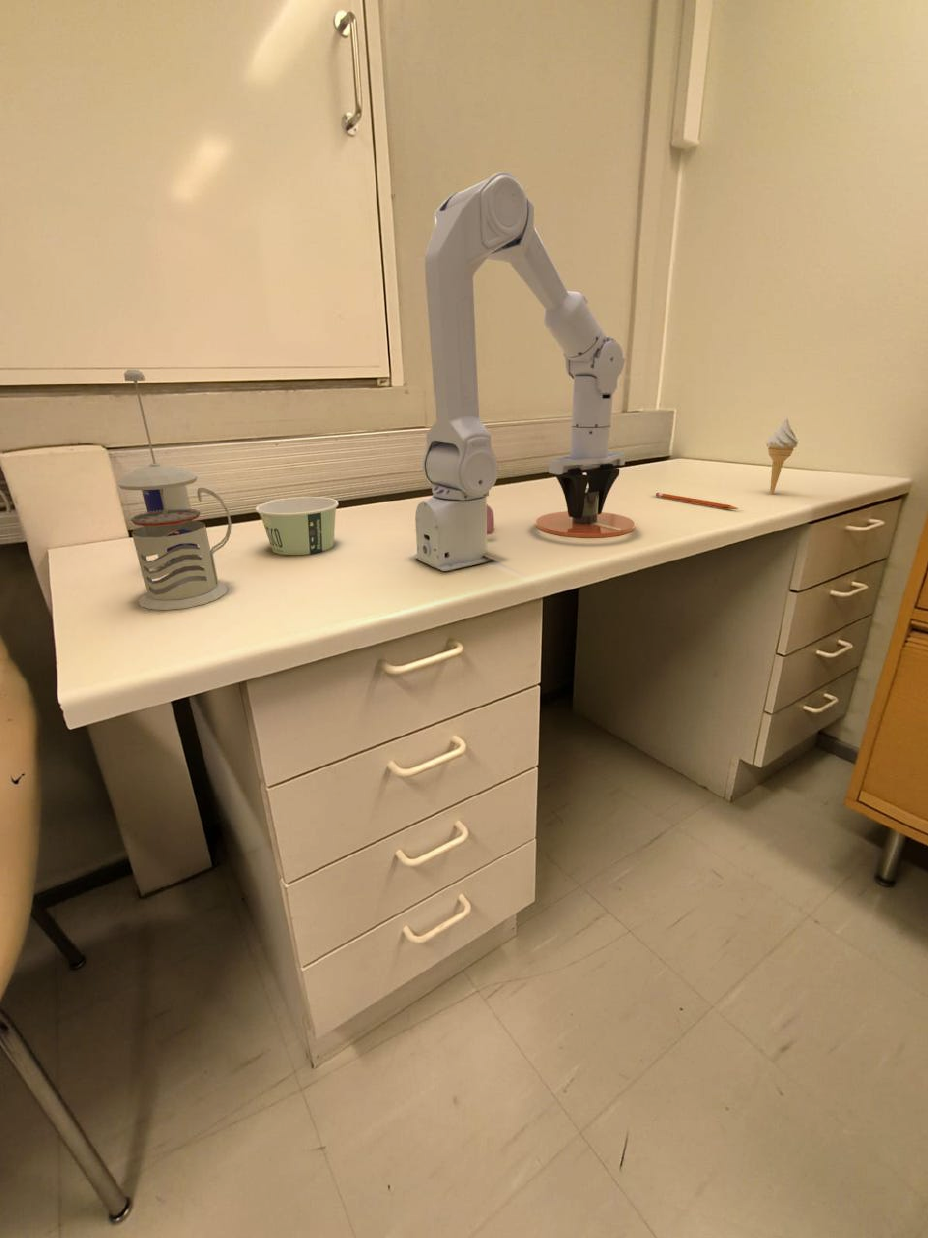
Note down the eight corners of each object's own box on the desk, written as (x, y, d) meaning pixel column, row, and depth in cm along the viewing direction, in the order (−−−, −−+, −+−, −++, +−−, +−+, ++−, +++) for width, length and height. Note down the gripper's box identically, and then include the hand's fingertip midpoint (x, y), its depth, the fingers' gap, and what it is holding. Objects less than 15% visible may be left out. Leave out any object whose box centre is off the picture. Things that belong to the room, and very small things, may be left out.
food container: (358, 544, 87) (354, 502, 85) (293, 563, 79) (286, 517, 76) (311, 532, 95) (306, 493, 92) (246, 549, 86) (239, 506, 83)
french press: (142, 588, 70) (85, 370, 61) (240, 574, 75) (202, 368, 65) (135, 616, 62) (68, 368, 52) (246, 598, 66) (203, 366, 57)
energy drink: (156, 571, 77) (134, 482, 72) (165, 560, 81) (144, 476, 77) (199, 567, 78) (180, 479, 73) (204, 557, 83) (187, 473, 78)
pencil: (657, 495, 116) (658, 492, 116) (740, 510, 103) (740, 506, 103) (655, 496, 116) (655, 492, 116) (737, 510, 102) (738, 506, 102)
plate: (516, 523, 93) (517, 489, 91) (583, 510, 101) (585, 478, 99) (585, 543, 81) (587, 504, 79) (655, 526, 89) (659, 491, 87)
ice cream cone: (750, 492, 118) (764, 416, 112) (772, 490, 120) (786, 415, 114) (771, 497, 113) (786, 418, 107) (793, 495, 115) (810, 417, 109)
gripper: (574, 430, 79) (569, 526, 84) (643, 424, 86) (635, 512, 91) (541, 428, 84) (538, 518, 89) (608, 422, 91) (602, 505, 97)
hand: (585, 515), depth 91 cm, fingers closed on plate, 4 cm apart
